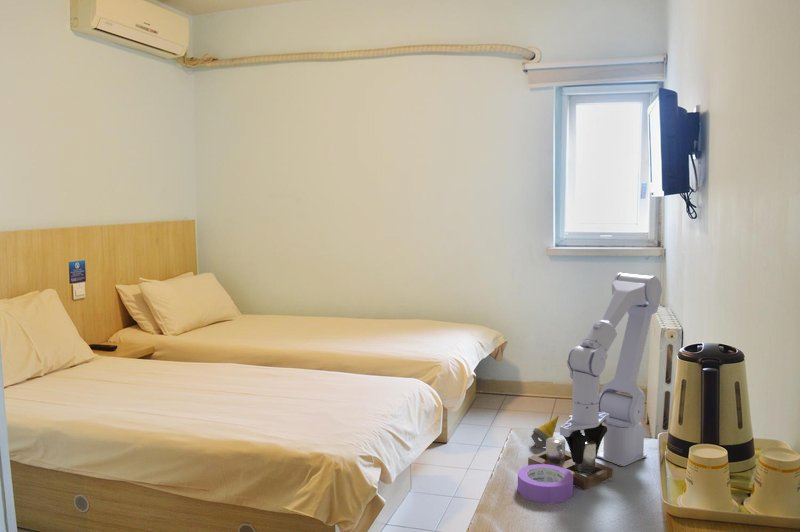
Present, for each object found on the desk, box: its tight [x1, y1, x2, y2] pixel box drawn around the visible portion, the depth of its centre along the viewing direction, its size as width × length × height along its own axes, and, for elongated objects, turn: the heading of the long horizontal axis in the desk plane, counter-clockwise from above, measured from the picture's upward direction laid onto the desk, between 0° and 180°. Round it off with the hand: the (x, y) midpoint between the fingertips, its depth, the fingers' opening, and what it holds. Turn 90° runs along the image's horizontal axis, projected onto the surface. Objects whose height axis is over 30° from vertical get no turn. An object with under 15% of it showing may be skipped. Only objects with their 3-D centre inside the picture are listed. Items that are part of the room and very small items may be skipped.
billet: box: [575, 439, 597, 473], centre depth 157 cm, size 4×4×6 cm
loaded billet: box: [545, 436, 566, 464], centre depth 164 cm, size 4×4×6 cm
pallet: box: [527, 449, 614, 491], centre depth 161 cm, size 10×16×2 cm, turn 37°
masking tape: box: [517, 464, 574, 504], centre depth 152 cm, size 12×12×4 cm
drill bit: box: [530, 415, 560, 448], centre depth 177 cm, size 5×5×10 cm
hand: (584, 459), depth 158 cm, fingers closed on billet, 4 cm apart
